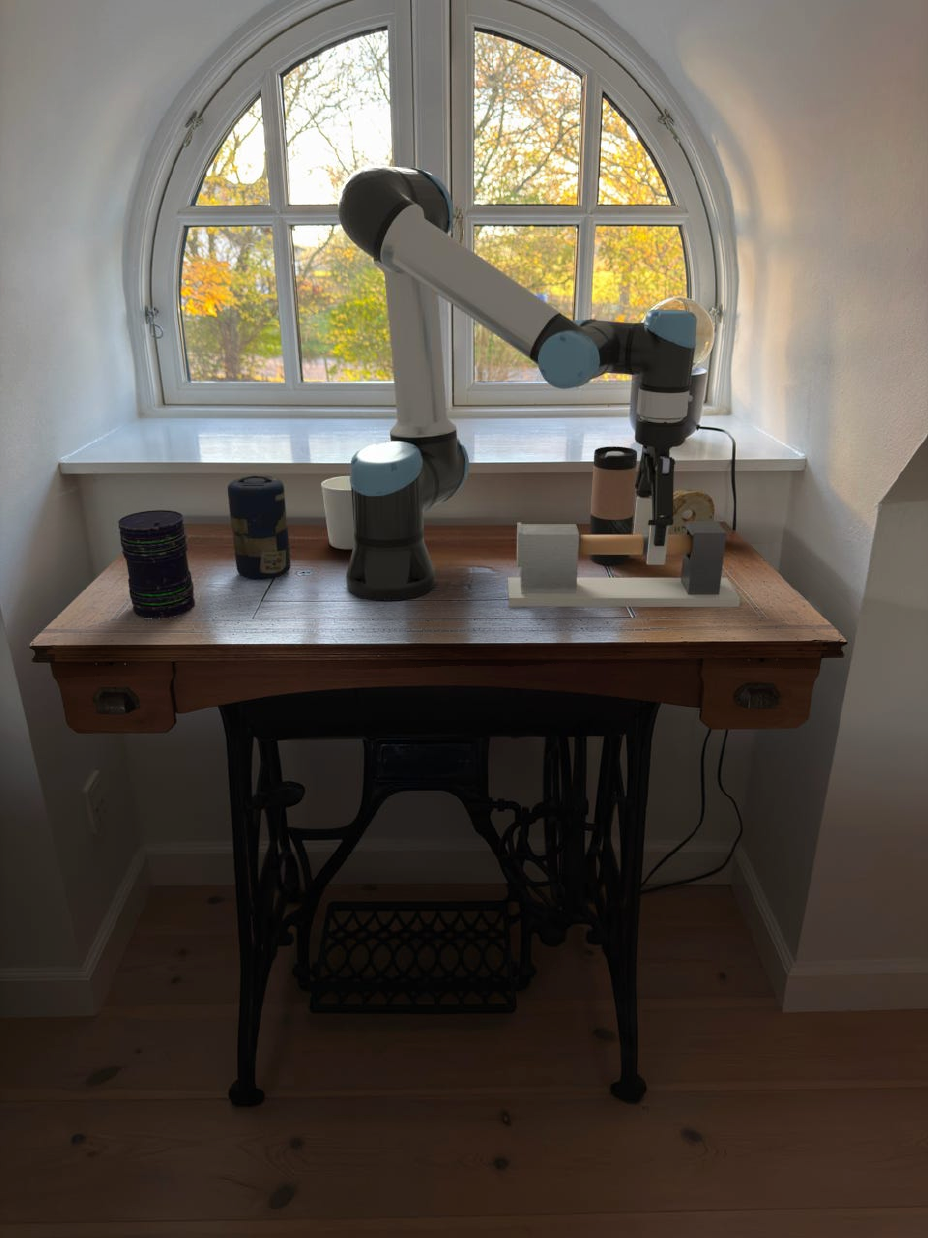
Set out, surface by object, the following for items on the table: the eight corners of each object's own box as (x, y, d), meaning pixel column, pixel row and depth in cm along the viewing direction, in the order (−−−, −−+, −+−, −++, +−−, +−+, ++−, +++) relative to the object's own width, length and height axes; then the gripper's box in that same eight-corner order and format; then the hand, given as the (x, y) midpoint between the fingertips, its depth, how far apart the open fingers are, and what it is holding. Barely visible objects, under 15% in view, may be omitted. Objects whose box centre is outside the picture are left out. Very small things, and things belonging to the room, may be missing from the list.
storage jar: (124, 604, 146) (108, 517, 140) (183, 591, 151) (170, 506, 145) (144, 624, 138) (128, 533, 132) (205, 609, 144) (192, 521, 138)
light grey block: (517, 593, 145) (518, 532, 141) (516, 581, 150) (517, 522, 145) (576, 593, 145) (579, 532, 140) (573, 581, 149) (576, 522, 145)
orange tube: (571, 558, 143) (571, 537, 142) (569, 551, 146) (570, 530, 145) (708, 558, 143) (711, 537, 141) (703, 551, 146) (705, 530, 144)
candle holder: (378, 549, 170) (375, 488, 165) (326, 552, 168) (321, 490, 163) (374, 533, 178) (371, 474, 174) (325, 536, 177) (320, 477, 172)
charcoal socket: (688, 594, 144) (694, 532, 140) (680, 580, 149) (686, 521, 145) (719, 594, 144) (726, 532, 139) (710, 581, 149) (717, 521, 145)
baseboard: (508, 606, 144) (508, 597, 143) (507, 585, 152) (507, 577, 151) (739, 606, 143) (740, 598, 142) (725, 585, 151) (726, 577, 150)
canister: (251, 563, 163) (240, 466, 156) (300, 566, 161) (291, 469, 154) (228, 582, 155) (215, 480, 147) (279, 585, 153) (269, 483, 146)
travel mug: (628, 552, 167) (636, 446, 159) (631, 566, 160) (639, 456, 152) (587, 551, 168) (593, 445, 160) (588, 565, 161) (594, 455, 153)
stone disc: (706, 535, 176) (711, 485, 172) (713, 541, 172) (719, 491, 168) (655, 537, 175) (659, 487, 171) (661, 543, 171) (665, 493, 167)
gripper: (704, 436, 124) (687, 577, 133) (670, 401, 147) (658, 524, 155) (650, 435, 124) (636, 576, 133) (625, 401, 147) (615, 523, 156)
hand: (648, 549), depth 144 cm, fingers open, 13 cm apart
